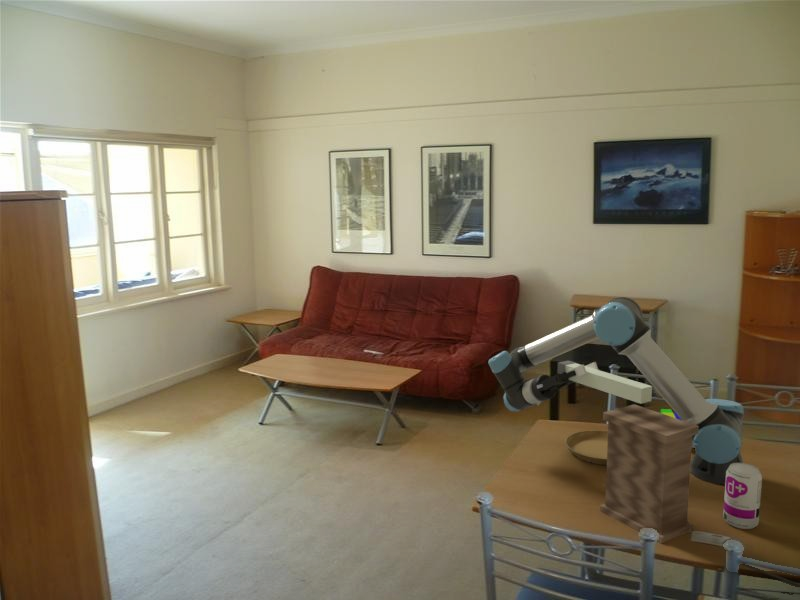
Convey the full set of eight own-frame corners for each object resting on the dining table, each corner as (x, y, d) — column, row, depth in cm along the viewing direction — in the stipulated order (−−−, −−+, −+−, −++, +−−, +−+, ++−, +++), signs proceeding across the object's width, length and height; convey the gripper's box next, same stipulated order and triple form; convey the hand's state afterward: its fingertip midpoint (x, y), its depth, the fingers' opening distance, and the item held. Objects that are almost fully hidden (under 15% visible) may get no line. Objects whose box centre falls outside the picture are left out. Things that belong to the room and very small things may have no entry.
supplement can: (742, 533, 169) (747, 477, 167) (716, 518, 177) (719, 465, 174) (765, 526, 172) (769, 471, 170) (738, 512, 180) (741, 459, 177)
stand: (599, 510, 182) (603, 412, 177) (630, 499, 188) (634, 404, 183) (661, 543, 165) (666, 436, 160) (692, 530, 171) (698, 426, 166)
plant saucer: (633, 474, 205) (633, 463, 204) (556, 459, 217) (556, 449, 216) (647, 446, 225) (647, 437, 225) (576, 435, 237) (576, 426, 237)
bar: (557, 376, 197) (557, 362, 196) (567, 374, 199) (568, 360, 198) (640, 404, 171) (641, 388, 170) (651, 401, 173) (652, 385, 173)
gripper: (564, 396, 210) (616, 375, 191) (522, 406, 202) (572, 385, 182) (556, 373, 212) (607, 350, 193) (514, 382, 204) (563, 359, 185)
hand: (590, 367), depth 188 cm, fingers closed on bar, 4 cm apart
